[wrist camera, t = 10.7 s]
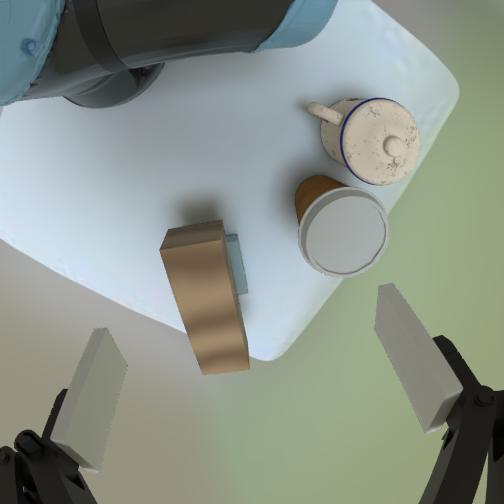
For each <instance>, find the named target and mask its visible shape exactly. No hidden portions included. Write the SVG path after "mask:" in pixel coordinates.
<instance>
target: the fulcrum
mask: <svg viewBox="0 0 504 504" xmlns="http://www.w3.org/2000/svg"><path fill="white" fill-rule="evenodd" d="M226 241H227V246H228V251H229V256H230V261H231V266H232V271H233V276H234V280H235V285H236V290H237V295H239V294H246V293H248V289H247V282H246V277H245V272H244V267H243V261H242V256H241V251H240V246H239V241H238V235H237V234H235V235H229V236H226Z"/></svg>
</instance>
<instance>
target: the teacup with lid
mask: <svg viewBox="0 0 504 504" xmlns="http://www.w3.org/2000/svg"><path fill="white" fill-rule="evenodd" d="M308 112H309V113H310V114H312V115H313V116H315V117H317V118H319V119H321V120H322V124H321V139H322V143H323V145H324V147H325V149H326V151H327V152H328V154H329V155H330V156H331V157H332V158H333V159H335V160H336V161H338V162H339V163H341V164H342V165H343V166H345V167H346V168H348V169H349V170H350V171H351V172H352V174H353V175H355V176H356V177H357V178H358V179H360V180H361V181H363V182H366V183H368V184H372V185H388V184H392V183H395V182H397V181H399V180H401V179H402V178H404V177H405V176H406V175H407V174H408V173H409V172H410V171H411V169H412V168H413V167H414V165H415V163H416V161H417V158H418V155H419V151H420V134H419V130H418V127H417V124H416V122H415V120H414V118H413V117H412V115H411V114H410V113H409V112H408V111H407V110H406V109H405V108H404V107H403V106H402V105H400V104H399V103H397V102H395V101H393V100H390V99H386V98H372V99H358V98H348V99H343V100H341V101H338V102H337V103H335V104H334V105H332V106H331V107H330V108H328V107H326V106H324V105H321V104H319V103H314V102H313V103H311V104H310V105H309V108H308Z"/></svg>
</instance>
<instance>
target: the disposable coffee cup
mask: <svg viewBox="0 0 504 504" xmlns="http://www.w3.org/2000/svg"><path fill="white" fill-rule="evenodd" d="M295 206H296V212H297V217H298V223H299V230H298V243H299V248H300V251H301V253H302V255H303V257H304V259H305V260H306V262H307V263H308V264H309V265H310V266H312V267H313V268H314V269H315V270H317V271H319V272H321V273H324V274H325V275H328V276H332V277H336V278H347V277H352V276H355V275H359V274H361V273H363V272H365V271H366V270H367V269H369V268H370V267H371V266H373V265H374V264H375V263H376V262H377V261H378V260H379V259H380V257H381V256H382V254H383V253H384V251H385V249H386V246H387V243H388V240H389V230H390V228H389V223H388V216H387V213H386V210H385V208H384V206H383V205H382V203H381V201H380V200H379V199H378V198H377V197H376V196H375V195H373V194H372V193H370V192H369V191H366V190H364V189H361V188H357V187H350V186H347V185H345V184H343V183H341V182H338V181H336V180H333V179H331V178H329V177H327V176H313V177H310V178H308V179H306V180H305V181H304V182H303V183H302V184H301V185H300V186H299V188H298V189H297V191H296V194H295Z"/></svg>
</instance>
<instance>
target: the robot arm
mask: <svg viewBox="0 0 504 504" xmlns="http://www.w3.org/2000/svg"><path fill="white" fill-rule="evenodd" d="M337 2H338V0H0V106H3V105H4V106H6V105H9V104H12V103H14V102H16V101H23V100H30V99H38V98H47V97H57V96H63V97H64V98H66V99H67V100H69V101H70V102H72V103H74V104H76V105H79V106H82V107H86V108H106V107H113V106H117V105H120V104H123V103H125V102H128V101H130V100H132V99H133V98H135V97H137V96H138V95H140V94H141V93H142V92H143V91H145V90H146V89H147V88H148V87H149V86H150V85H151V84H152V83H153V81H154V80H155V79H156V78H157V76H158V75H159V73H160V71H161V70H162V68H163V66H164V64H165V62H167V61H172V60H178V59H184V58H191V57H198V56H205V55H213V54H222V53H232V52H243V53H255V52H260V51H262V50H264V49H275V48H290V47H297V46H299V45H302V44H305V43H307V42H309V41H311V40H312V39H314V38H315V37H316V36H317V35H318V34H319V33H320V32H321V31H322V30H323V28H324V27H325V26H326V24H327V23H328V21H329V19H330V18H331V16H332V13H333V11H334V9H335V7H336V4H337ZM374 330H375V332H376V334H377V336H378V338H379V339H380V341H381V343H382V345H383V347H384V349H385V351H386V353H387V355H388V357H389V359H390V361H391V363H392V365H393V366H394V369H395V371H396V373H397V375H398V377H399V379H400V381H401V383H402V385H403V388H404V390H405V392H406V394H407V395H408V398H409V400H410V402H411V404H412V407H413V409H414V411H415V413H416V415H417V418H418V420H419V422H420V424H421V426H422V429H423V431H424V433H425V434H428V433H430V432H433V431H435V430H438V429H440V428H442V426H443V424H444V422H445V421H446V422H447V424H448V426H449V428H448V430H447V431H446V433H445V434H444V436H443V438H442V440H444V442H443V445H442V448H441V451H440V454H439V456H438V459H437V461H436V464H435V467H434V469H433V472H432V474H431V477H430V479H429V482H428V484H427V486H426V488H425V491H424V493H423V495H422V498H421V500H420V502H419V504H472V502H473V499H474V497H475V494H476V490H477V488H478V485H479V481H480V478H481V475H482V471H483V467H484V464H485V460H486V456H487V452H488V475H487V489H486V501H485V504H504V390H501V391H493V390H492V389H491V388H490V387H487V386H483V385H481V384H480V383H479V382H478V380H477V379H476V377H475V376H474V374H473V373H472V371H471V370H470V368H469V367H468V365H467V364H466V362H465V361H464V359H462V356H461V355H460V353H459V352H457V349H456V347H455V346H454V344H453V343H452V342H451V341H450V340H449V339H447V338H446V337H444V336H443V335H440V336H437V337H434V338H431V336H430V335H429V333H428V332H427V330H426V329H425V327H424V326H423V324H422V323H421V321H420V320H419V319H418V317H417V316H416V314H415V313H414V311H413V310H412V308H411V307H410V306H409V304H408V303H407V301H406V300H405V299H404V297H403V296H402V295H401V293H400V292H399V290H398V289H397V288H396V286H395V285H394V284H393V283H390V284H385V285H380V286H378V300H377V310H376V318H375V327H374ZM127 367H128V365H127V363H126V361H125V360H124V358H123V356H122V354H121V353H120V351H119V349H118V347H117V345H116V343H115V342H114V340H113V338H112V336H111V334H110V332H109V330H108V328H97V329H94V331H93V333H92V335H91V337H90V340H89V342H88V344H87V346H86V348H85V351H84V353H83V355H82V358H81V360H80V362H79V364H78V367H77V369H76V371H75V374H74V376H73V379H72V381H71V384H70V386H69V388H68V389H63V390H62V391H61V392H60V394H59V395H58V396H57V398H56V400H55V403H54V405H53V406H54V407H53V408H52V410H51V415H49V418H48V421H47V423H46V426H45V429H44V431H43V434H42V437H41V438H40V437H39V436H38V435H37V434H36V433H35V432H34V431H32V430H24V431H22V432H21V433H19V434H18V436H17V437H16V439H15V442H14V448H15V449H16V450H17V451H18V452H15V451H14V450H13V449H12V448H10V447H8V446H3V447H1V448H0V504H97V502H96V500H95V498H94V497H93V495H92V493H91V491H90V490H89V488H88V486H87V484H86V482H85V480H84V478H83V477H82V475H81V473H80V472H79V471H78V468H79V465H80V466H81V467H82V468H84V469H85V470H86V471H91V472H98V473H101V469H102V464H103V459H104V455H105V451H106V446H107V441H108V438H109V434H110V429H111V425H112V421H113V418H114V413H115V409H116V406H117V402H118V399H119V395H120V391H121V388H122V384H123V381H124V377H125V374H126V370H127ZM23 487H24V491H23Z"/></svg>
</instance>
